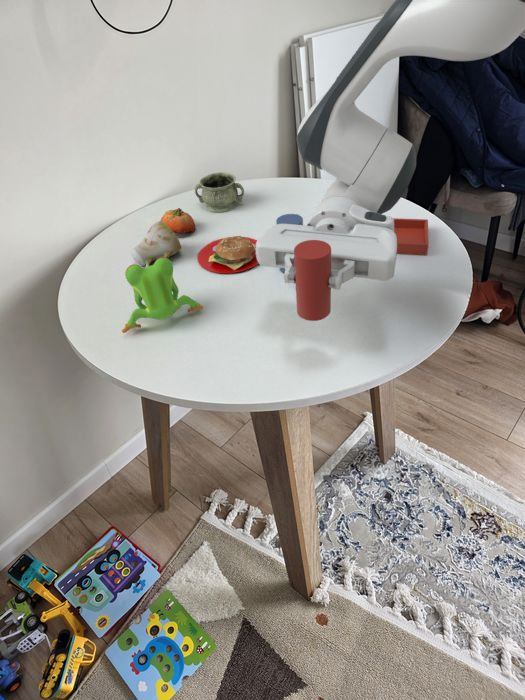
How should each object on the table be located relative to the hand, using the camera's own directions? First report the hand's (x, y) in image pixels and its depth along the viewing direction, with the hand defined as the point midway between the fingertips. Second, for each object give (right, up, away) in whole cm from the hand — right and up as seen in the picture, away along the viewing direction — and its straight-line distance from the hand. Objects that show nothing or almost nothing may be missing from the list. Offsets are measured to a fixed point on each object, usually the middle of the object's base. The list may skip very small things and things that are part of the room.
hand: (311, 281), depth 65 cm
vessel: (-16, +25, +52) cm, 60 cm away
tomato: (-25, +17, +44) cm, 54 cm away
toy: (-24, -3, +21) cm, 32 cm away
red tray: (+21, +13, +33) cm, 41 cm away
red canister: (+1, -4, +4) cm, 6 cm away
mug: (-28, +9, +35) cm, 46 cm away
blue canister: (-1, +7, +29) cm, 30 cm away
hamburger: (-13, +10, +34) cm, 38 cm away
